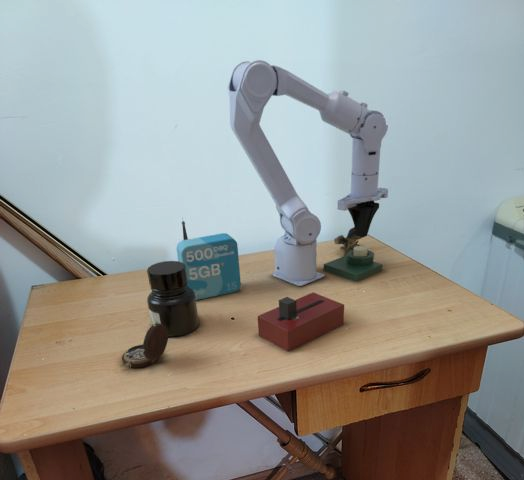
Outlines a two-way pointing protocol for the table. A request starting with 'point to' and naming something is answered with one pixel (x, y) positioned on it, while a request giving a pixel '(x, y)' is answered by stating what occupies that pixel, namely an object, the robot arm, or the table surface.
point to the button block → (354, 266)
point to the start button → (360, 251)
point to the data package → (210, 264)
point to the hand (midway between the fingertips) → (361, 235)
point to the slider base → (301, 321)
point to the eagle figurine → (348, 240)
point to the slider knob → (287, 308)
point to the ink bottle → (172, 298)
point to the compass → (147, 348)
